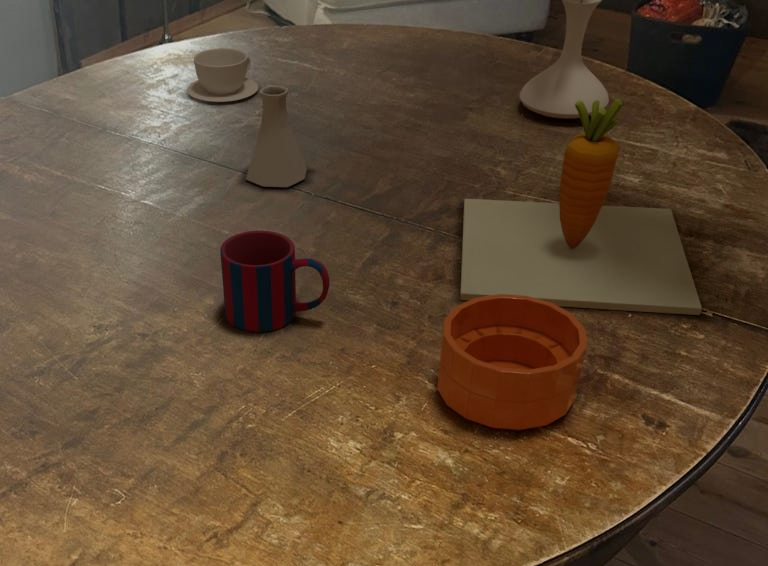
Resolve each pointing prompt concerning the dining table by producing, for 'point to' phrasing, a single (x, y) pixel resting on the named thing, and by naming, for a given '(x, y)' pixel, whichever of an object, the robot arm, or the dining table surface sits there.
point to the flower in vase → (567, 72)
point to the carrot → (587, 171)
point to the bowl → (510, 361)
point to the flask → (276, 144)
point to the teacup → (222, 76)
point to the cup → (263, 280)
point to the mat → (576, 258)
